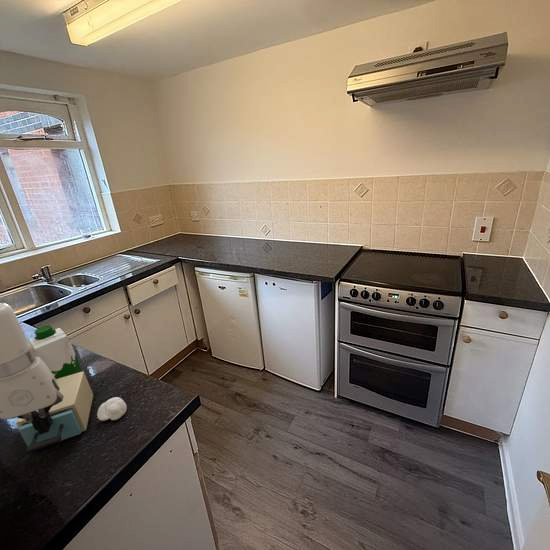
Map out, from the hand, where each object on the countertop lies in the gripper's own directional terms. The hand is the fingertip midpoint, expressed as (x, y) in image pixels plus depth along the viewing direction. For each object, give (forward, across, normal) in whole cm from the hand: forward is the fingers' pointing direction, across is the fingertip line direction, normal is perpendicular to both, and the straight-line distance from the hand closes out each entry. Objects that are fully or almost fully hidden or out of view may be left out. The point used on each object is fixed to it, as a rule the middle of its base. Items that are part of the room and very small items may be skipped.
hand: (46, 428), depth 67 cm
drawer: (+6, 0, +5) cm, 8 cm away
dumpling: (+7, +12, +5) cm, 15 cm away
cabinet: (+7, 0, +10) cm, 12 cm away
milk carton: (+7, -2, +24) cm, 25 cm away
